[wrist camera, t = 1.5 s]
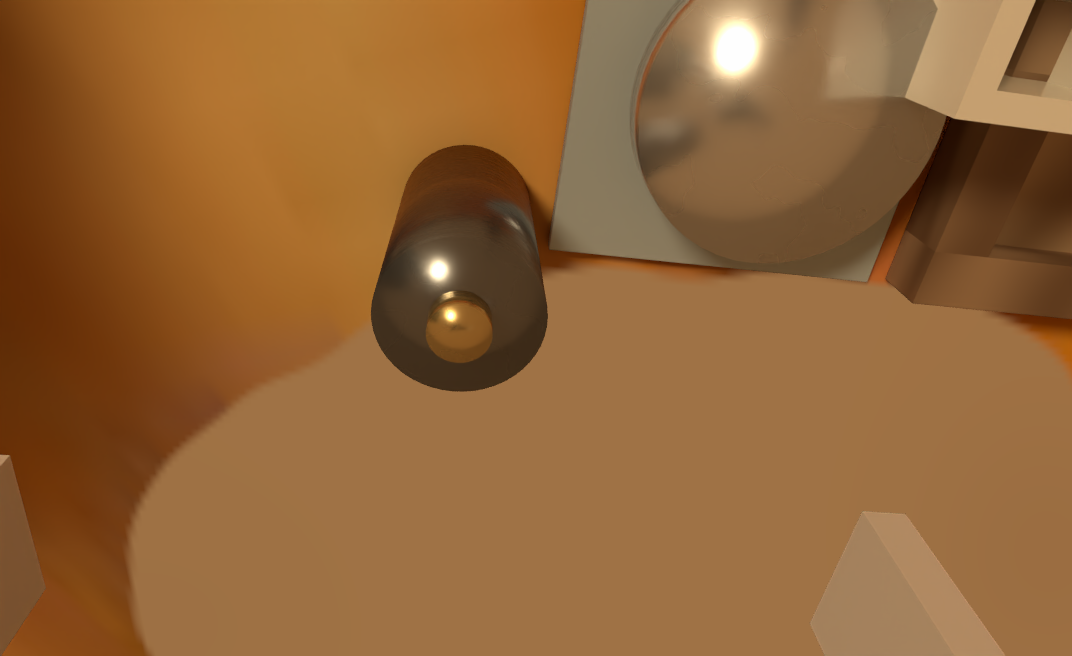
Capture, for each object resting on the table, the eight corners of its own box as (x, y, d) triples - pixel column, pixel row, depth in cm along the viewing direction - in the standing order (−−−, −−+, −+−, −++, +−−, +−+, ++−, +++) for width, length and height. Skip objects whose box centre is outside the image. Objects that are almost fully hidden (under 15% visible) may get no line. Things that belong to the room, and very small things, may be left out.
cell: (399, 259, 26) (364, 402, 18) (406, 137, 24) (368, 240, 16) (521, 271, 26) (537, 415, 19) (538, 153, 24) (562, 260, 17)
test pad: (604, 230, 24) (611, 248, 22) (666, -85, 19) (679, -85, 18) (861, 257, 25) (883, 276, 23) (974, -34, 20) (1007, -31, 19)
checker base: (548, 243, 26) (549, 249, 25) (610, -154, 20) (613, -155, 20) (861, 276, 27) (866, 282, 27) (1002, -86, 22) (1013, -86, 21)
